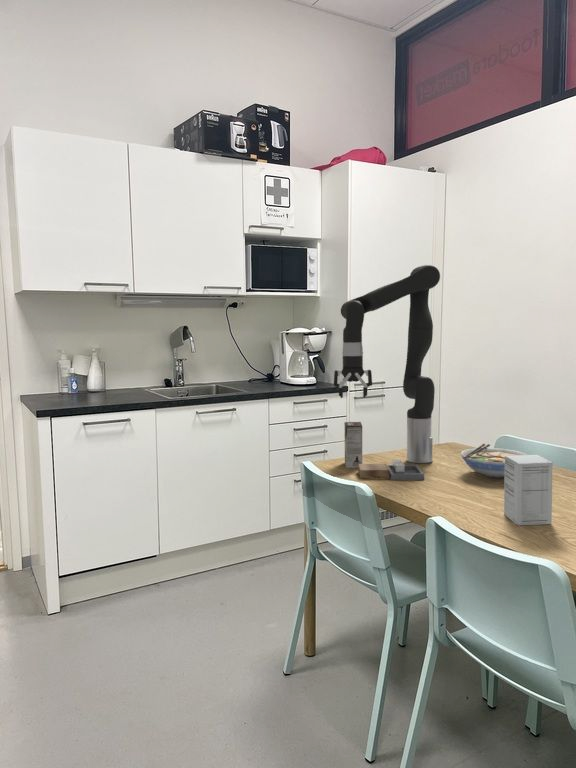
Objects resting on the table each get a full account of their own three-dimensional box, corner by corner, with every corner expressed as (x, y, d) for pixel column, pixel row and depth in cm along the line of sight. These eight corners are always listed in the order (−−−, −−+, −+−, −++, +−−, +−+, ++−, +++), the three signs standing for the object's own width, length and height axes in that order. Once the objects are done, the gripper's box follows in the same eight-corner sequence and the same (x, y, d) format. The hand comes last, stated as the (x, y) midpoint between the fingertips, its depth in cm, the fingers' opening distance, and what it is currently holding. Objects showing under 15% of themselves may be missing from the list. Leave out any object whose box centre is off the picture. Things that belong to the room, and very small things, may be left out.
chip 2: (394, 474, 202) (402, 474, 202) (395, 477, 198) (404, 476, 198) (394, 462, 201) (402, 462, 201) (395, 465, 198) (404, 465, 197)
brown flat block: (386, 471, 207) (386, 463, 207) (389, 478, 198) (389, 470, 198) (358, 472, 207) (358, 464, 207) (360, 478, 198) (360, 470, 198)
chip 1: (392, 470, 206) (400, 470, 206) (393, 473, 202) (402, 473, 202) (392, 459, 206) (400, 459, 206) (393, 462, 202) (402, 462, 202)
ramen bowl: (517, 488, 183) (518, 463, 183) (449, 478, 197) (449, 455, 196) (537, 472, 203) (538, 449, 202) (474, 463, 217) (474, 442, 216)
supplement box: (536, 513, 159) (538, 454, 158) (552, 524, 150) (554, 462, 149) (502, 514, 159) (503, 455, 157) (516, 525, 150) (518, 463, 148)
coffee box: (344, 462, 222) (344, 421, 221) (360, 462, 222) (360, 421, 221) (345, 468, 213) (345, 425, 212) (363, 468, 213) (363, 425, 212)
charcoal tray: (416, 470, 209) (416, 464, 208) (424, 479, 196) (424, 474, 195) (386, 470, 209) (386, 465, 209) (391, 480, 196) (391, 474, 196)
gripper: (370, 353, 217) (370, 396, 219) (333, 354, 218) (333, 396, 219) (372, 354, 210) (373, 398, 211) (334, 355, 210) (334, 399, 212)
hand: (352, 397), depth 215 cm, fingers open, 8 cm apart
